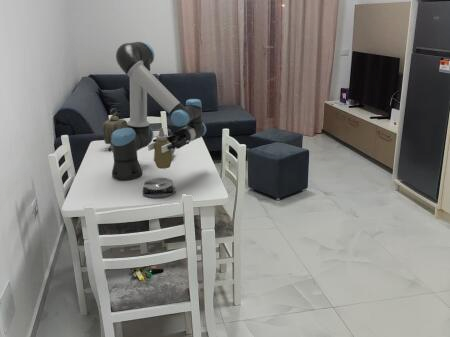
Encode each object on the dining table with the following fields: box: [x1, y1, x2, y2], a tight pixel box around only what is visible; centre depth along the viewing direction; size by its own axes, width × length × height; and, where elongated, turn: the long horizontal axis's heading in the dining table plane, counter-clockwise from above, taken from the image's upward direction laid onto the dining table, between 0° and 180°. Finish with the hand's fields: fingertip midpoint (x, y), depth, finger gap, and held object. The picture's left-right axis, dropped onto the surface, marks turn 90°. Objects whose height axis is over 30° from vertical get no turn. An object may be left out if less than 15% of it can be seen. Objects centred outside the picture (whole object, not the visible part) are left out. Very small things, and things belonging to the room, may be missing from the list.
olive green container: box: [102, 107, 128, 151], centre depth 263 cm, size 14×9×25 cm, turn 162°
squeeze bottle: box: [153, 127, 173, 170], centre depth 191 cm, size 8×8×18 cm
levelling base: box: [142, 177, 176, 200], centre depth 197 cm, size 15×15×4 cm
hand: (155, 148), depth 187 cm, fingers closed on squeeze bottle, 6 cm apart
